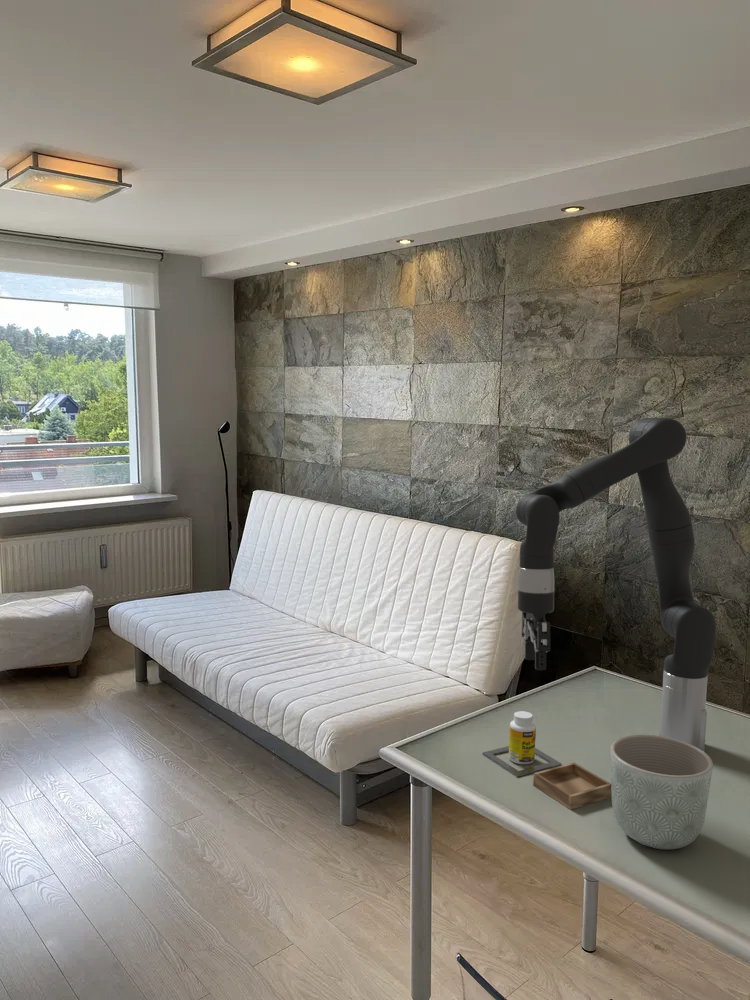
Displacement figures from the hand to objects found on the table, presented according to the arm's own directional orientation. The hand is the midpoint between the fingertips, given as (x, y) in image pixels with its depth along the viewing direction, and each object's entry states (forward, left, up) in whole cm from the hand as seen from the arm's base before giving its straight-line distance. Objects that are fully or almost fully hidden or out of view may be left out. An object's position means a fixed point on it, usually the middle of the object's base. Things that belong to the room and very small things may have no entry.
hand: (535, 664), depth 162 cm
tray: (-9, +11, -22) cm, 26 cm away
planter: (-24, +23, -22) cm, 39 cm away
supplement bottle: (+2, 0, -22) cm, 22 cm away
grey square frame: (+2, 0, -22) cm, 22 cm away
